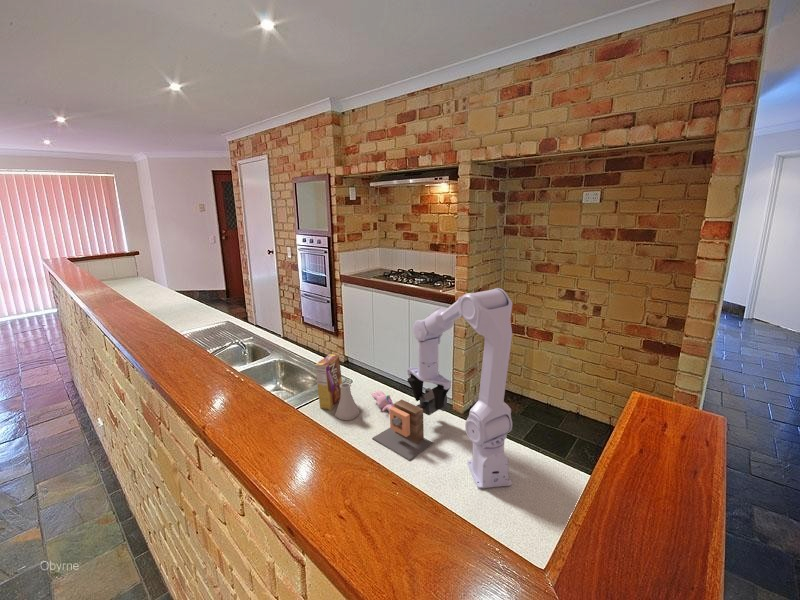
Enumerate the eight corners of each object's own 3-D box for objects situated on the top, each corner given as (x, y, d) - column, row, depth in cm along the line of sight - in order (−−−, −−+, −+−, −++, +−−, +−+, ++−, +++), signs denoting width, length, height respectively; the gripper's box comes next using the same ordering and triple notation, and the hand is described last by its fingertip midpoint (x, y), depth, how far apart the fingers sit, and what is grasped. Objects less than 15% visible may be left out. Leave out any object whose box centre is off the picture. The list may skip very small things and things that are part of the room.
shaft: (404, 436, 101) (403, 420, 100) (385, 426, 106) (385, 411, 105) (447, 409, 114) (447, 395, 112) (428, 401, 118) (428, 388, 117)
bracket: (416, 444, 105) (415, 413, 102) (395, 432, 110) (394, 403, 108) (423, 439, 107) (423, 409, 104) (402, 428, 112) (401, 399, 110)
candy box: (332, 395, 134) (329, 353, 130) (343, 397, 132) (340, 354, 129) (318, 408, 126) (314, 363, 122) (330, 410, 124) (326, 365, 120)
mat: (409, 460, 98) (409, 459, 98) (372, 439, 108) (372, 437, 108) (433, 444, 105) (433, 442, 105) (396, 424, 115) (396, 423, 115)
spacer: (406, 437, 103) (405, 416, 101) (390, 428, 107) (389, 408, 105) (410, 434, 104) (409, 414, 102) (394, 426, 108) (393, 406, 106)
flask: (330, 417, 120) (328, 387, 117) (344, 406, 126) (342, 378, 124) (350, 423, 116) (348, 392, 114) (363, 411, 123) (361, 382, 120)
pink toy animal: (407, 418, 120) (381, 393, 132) (408, 402, 118) (381, 378, 129) (390, 425, 117) (365, 399, 128) (391, 409, 115) (365, 384, 126)
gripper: (457, 362, 107) (457, 407, 111) (418, 350, 117) (419, 391, 120) (441, 370, 102) (441, 417, 106) (402, 356, 112) (403, 399, 116)
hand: (428, 404), depth 113 cm, fingers open, 7 cm apart
